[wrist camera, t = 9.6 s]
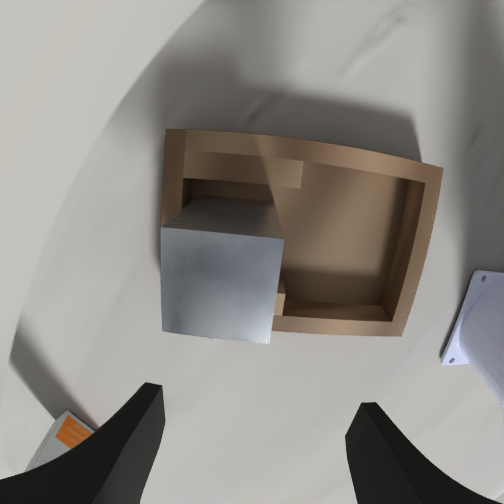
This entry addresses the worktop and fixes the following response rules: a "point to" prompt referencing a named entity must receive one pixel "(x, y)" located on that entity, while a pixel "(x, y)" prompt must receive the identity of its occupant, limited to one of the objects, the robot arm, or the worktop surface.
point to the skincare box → (60, 439)
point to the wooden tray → (320, 222)
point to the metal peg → (221, 269)
